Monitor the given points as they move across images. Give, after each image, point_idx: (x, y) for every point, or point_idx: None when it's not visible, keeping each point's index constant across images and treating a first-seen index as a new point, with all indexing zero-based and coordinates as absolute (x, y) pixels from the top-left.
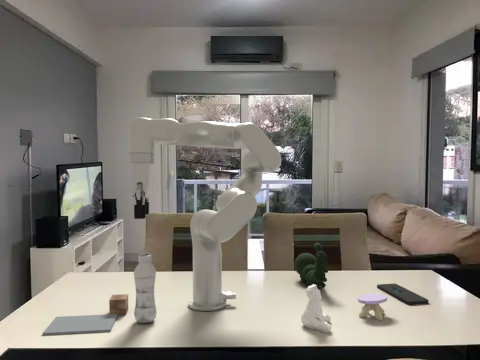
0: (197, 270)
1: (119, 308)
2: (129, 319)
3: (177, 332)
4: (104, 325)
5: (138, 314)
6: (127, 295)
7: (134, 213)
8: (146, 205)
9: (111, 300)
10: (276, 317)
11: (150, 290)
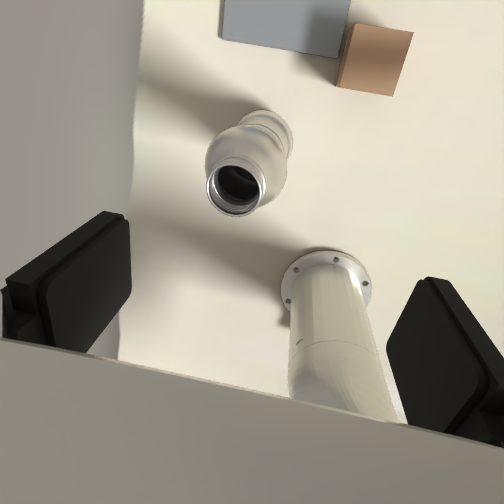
0: (309, 323)
1: (342, 64)
2: (295, 95)
3: (186, 199)
4: (254, 17)
5: (239, 122)
6: (378, 93)
7: (80, 231)
8: (415, 410)
9: (353, 32)
10: (218, 363)
11: (229, 170)
